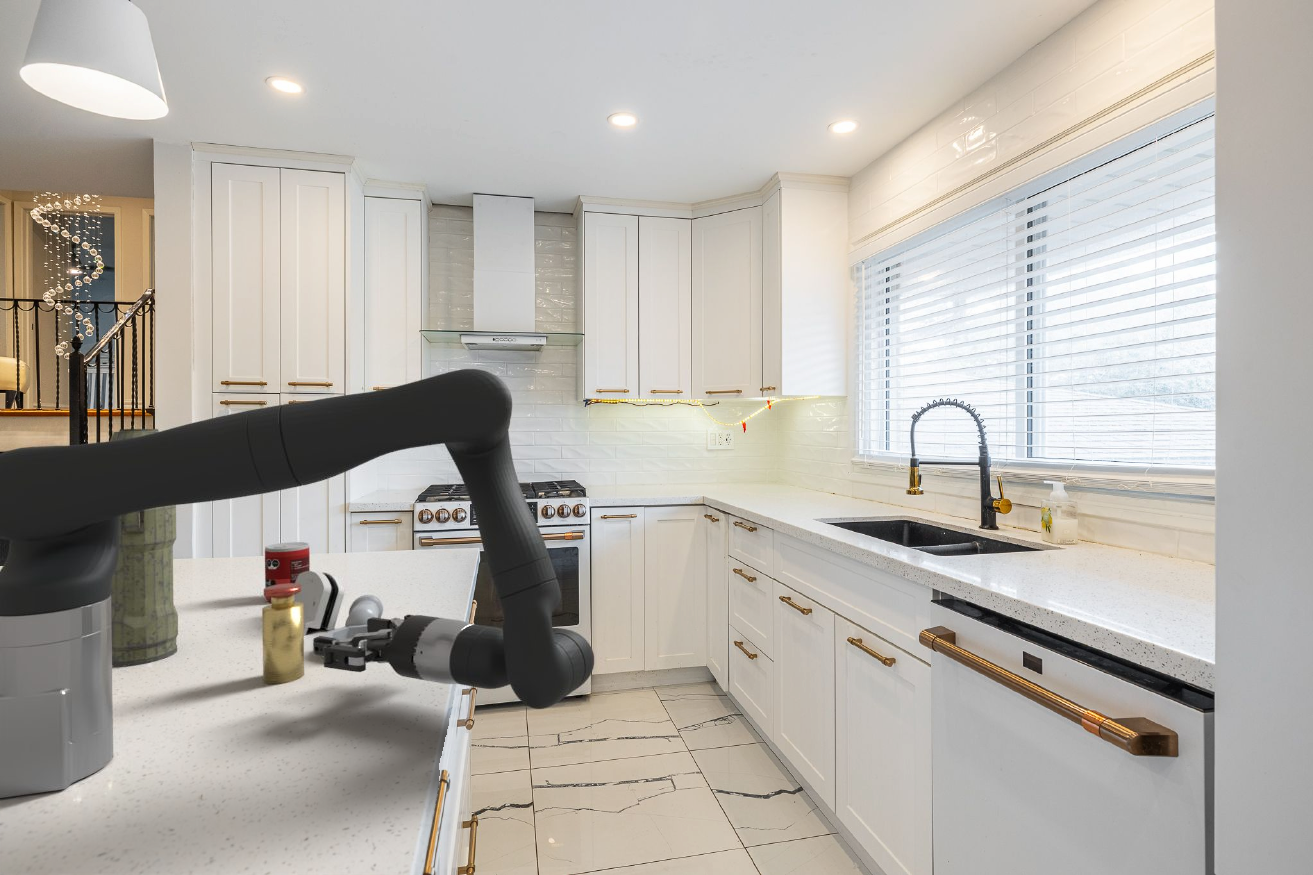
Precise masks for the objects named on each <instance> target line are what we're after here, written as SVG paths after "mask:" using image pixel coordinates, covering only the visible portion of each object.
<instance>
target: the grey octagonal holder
mask: <svg viewBox="0 0 1313 875" xmlns="http://www.w3.org/2000/svg"><path fill="white" fill-rule="evenodd" d="M383 612H384V605H383V602H382V601H381V600H380V598H379V597H377V596H375V595H371V594H364V595H361V596H359V597H357V598H356V599H355V600H354V601H353V602H352V604H351V605H350V606H349V610H348V616H347V618H346V620H345V626H342V627H340V628H336V629H335V628H334V630H328V631H327V632H324V634H323V635H322V636H324V637H330V638H337V639H348V638H353V637H354V636H355V635H356V634H360V633H368V632H367V620H368V619H369V618H372V617H375V618H382V616H383ZM366 641H367V640H361V648H364V649H365V650H366ZM343 646H349V647H352V645H343ZM320 658H322V659H324V656H321V655H320Z"/></svg>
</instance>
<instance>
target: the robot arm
mask: <svg viewBox="0 0 1313 875" xmlns="http://www.w3.org/2000/svg"><path fill="white" fill-rule="evenodd" d="M512 412H513V398H512V395H511V391H510V389H509V387H508V386H507V384H506V382H504V381H503V379H502V378H500V377H499V376H497V375H496V374H493V373H492V372H489V371H486V370H483V369H478V368H461V369H457V370H452V371H448V372H445V373H442V374H437V375H434V376H430V377H427V378H423V379H419V380H415V381H412V382H409V383H405V384H402V385H396V386H393V387H388V388H384V389H380V390H379V389H378V390H374V391H368V392H367V391H366V392H359V393H352V394H345V395H337V396H332V397H326V398H319V399H313V400H308V401H306V400H305V401H302V402H301V401H300V402H291V403H285V404H280V405H273V406H267V407H261V408H254V409H250V410H245V411H241V412H236V413H231V414H226V415H222V416H221V415H220V416H216V417H213V418H207V419H203V420H199V421H196V422H191V423H187V424H183V425H179V426H175V427H172V428H168V429H166V430H161V431H159V432H157V433H153V434H149V435H145V436H140V437H135V438H130V439H124V440H116V441H110V440H109V441H101V442H92V443H81V444H69V445H47V446H45V445H43V446H42V445H41V446H27V447H18V448H15V449H14V448H13V449H10V450H7V451H4V452H2V453H0V539H1V540H2V539H3V540H8V541H9V548H8V554H7V557H6V559H5V562H4V564H3V566H2V568H1V569H0V799H3V798H9V797H11V798H12V797H17V796H25V795H32V794H38V793H45V792H52V791H53V792H54V791H60V790H65V789H67V788H68V787H69V786H70V785H72V784H73V783H75V782H77V781H79V780H81V779H83V778H86V777H89V776H91V775H92V774H94V773H96V772H98V771H99V770H101V769H103V768H104V767H105V766H107V765H108V764H109V763H110V762H111V761H112V759H113V758H114V717H113V716H114V715H113V713H114V712H113V711H114V710H113V703H114V702H113V666H112V632H111V623H112V620H111V581H112V577H113V574H114V572H115V569H116V566H117V563H118V558H119V540H120V516H122V515H125V514H129V513H133V512H138V511H142V510H146V509H152V508H157V507H164V506H171V505H176V506H178V505H179V506H180V505H189V504H190V505H191V504H199V503H209V502H215V501H216V502H217V501H223V500H231V499H239V498H244V497H245V498H246V497H250V496H251V497H252V496H257V495H264V494H268V493H274V492H279V491H282V490H283V491H284V490H288V489H294V488H298V487H302V486H307V485H311V484H315V483H318V482H322V481H325V480H328V479H331V478H334V477H336V476H339V475H341V474H344V473H346V472H349V471H350V470H352V469H355V468H357V467H359V466H361V465H364V464H365V463H368V462H370V461H373V460H374V459H377V458H380V457H382V456H385V455H388V454H390V453H391V454H392V453H394V452H398V451H403V450H407V449H413V448H414V449H415V448H419V447H420V448H421V447H427V446H434V445H442V444H444V445H445V447H446V450H447V452H448V453H449V455H450V457H451V459H452V461H453V463H454V464H455V466H456V468H457V471H458V473H459V474H460V477H461V479H462V481H463V484H464V486H465V489H466V492H467V494H468V498H469V500H470V503H471V506H472V508H473V512H474V516H475V519H476V523H477V528H478V531H479V536H480V539H481V543H482V549H483V551H484V555H485V560H486V563H487V566H488V571H489V574H490V576H491V581H492V583H493V586H494V589H495V593H496V595H497V599H498V602H499V606H500V608H501V611H502V628H500V627H496V626H490V625H489V626H488V625H480V624H475V623H470V622H467V621H464V620H459V619H453V618H446V617H445V618H444V617H438V616H431V615H430V616H429V615H420V614H415V615H414V614H406V615H404V616H403V619H402V618H400V617H394V618H391V619H389V618H382V617H381V618H375V617H372V618H369V619H368V620H367V632H368V633H360V634H356V635H355V636H354V637H353V638H348V639H337V638H330V637H324V636H323V635H318V636H316V637H314V638H313V640H312V644H313V646H312V647H313V648H312V649H313V650H312V651H313V654H314V655H316V656H320V657H321V656H324V658H323V668H326V669H335V670H341V671H348V672H355V673H362V672H364V671H366V670H367V663H378V664H387V663H388V664H389V665H390V667H391V669H393V670H394V672H395V674H398V675H399V676H401V677H403V678H404V677H405V678H411V679H416V680H420V681H427V682H432V683H437V684H443V685H444V684H445V685H461V686H468V687H471V688H472V687H474V688H479V689H486V690H492V689H493V690H494V689H495V690H496V689H501V688H504V687H507V686H510V687H511V690H512V692H513V693H514V694H515V696H516V697H517V699H519V701H520V702H522V703H523V705H525V706H527V707H529V708H531V709H535V710H544V709H548V708H550V707H552V706H554V705H555V704H557V703H558V702H560V701H561V700H563V699H565V698H566V697H567V696H568V695H570V694H572V692H574V691H576V690H577V689H579V688H580V687H581V686H582V685H584V684H585V683H586V682H587V681H588V679H589V678H590V676H591V674H592V673H593V670H594V666H595V653H594V650H593V648H592V646H591V645H590V643H589V641H588V640H587V639H586V638H585V637H584V636H583V635H582V634H580V633H579V632H575V631H574V630H572V629H571V630H570V629H567V628H563V627H553V621H552V614H553V612H554V611H555V610H556V608H557V607H558V606H559V605H560V603H561V599H562V593H561V588H560V585H559V581H558V579H557V575H556V571H555V569H554V566H553V562H552V559H551V558H550V555H549V554H550V553H549V551H548V548H547V546H546V543H545V542H546V541H544V538H543V535H542V533H541V531H540V528H539V526H538V524H537V521H536V519H535V517H534V516H533V513H532V511H531V509H530V506H529V505H528V503H527V500H526V498H525V496H524V493H523V490H522V488H521V485H520V482H519V480H518V476H517V473H516V469H515V465H514V461H513V456H512V455H513V454H512V449H511V443H510V435H509V428H510V425H511V419H512ZM361 640H367V641H366V650H365V649H364V648H361ZM343 645H352V647H349V646H343Z"/></svg>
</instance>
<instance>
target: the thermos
mask: <svg viewBox="0 0 1313 875" xmlns="http://www.w3.org/2000/svg"><path fill="white" fill-rule="evenodd" d="M157 432H160V431H159V428H119V430H118V431H113V432H112V435H111V438H110V440H109V441H116V440H124V439H130V438H135V437H140V436H145V435H149V434H153V433H157ZM176 540H177V505H171V506H164V507H157V508H152V509H146V510H142V511H138V512H133V513H129V514H125V515H122V516H120V540H119V558H118V563H117V566H116V569H115V572H114V574H113V577H112V581H111V620H112V623H111V632H112V667H132V666H138V665H139V666H140V665H144V664H149V663H153V662H157V661H160V660H165V659H167V658H168V657H169V658H170V657H171V656H173V655H175V654H176V653H177V652H178V645H177V637H178V636H179V614H178V611H177V608H176V606H175V604H174V544H175V542H176Z"/></svg>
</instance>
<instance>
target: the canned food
mask: <svg viewBox="0 0 1313 875" xmlns="http://www.w3.org/2000/svg"><path fill="white" fill-rule="evenodd" d="M310 566H311V563H310V544H309V543H308V542H302V541H301V542H300V541H291V542H280V543H274V544H269V545H267V546H265V547H264V582H265V583H264V585H265V586H264V588H266V587H269V586H273V585H278V584H287V583H295V582H296V580H297V577H298V575H299V574H300V573H303V572H306V571H311V569H310ZM264 597H265V599H266V601H267V602H268V603H271V597H268V596H264Z"/></svg>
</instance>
